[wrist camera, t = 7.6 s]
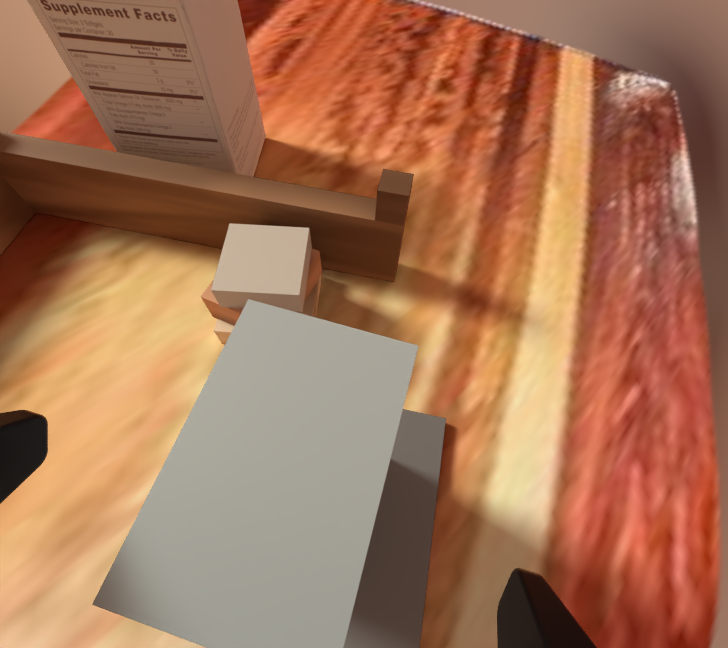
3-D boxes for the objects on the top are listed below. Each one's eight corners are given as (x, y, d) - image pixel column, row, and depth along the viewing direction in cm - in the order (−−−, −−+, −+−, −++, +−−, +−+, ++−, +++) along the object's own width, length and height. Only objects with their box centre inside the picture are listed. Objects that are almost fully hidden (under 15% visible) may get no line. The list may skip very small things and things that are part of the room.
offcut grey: (302, 311, 20) (299, 294, 18) (220, 307, 20) (211, 290, 18) (311, 247, 22) (309, 227, 20) (237, 243, 22) (229, 223, 20)
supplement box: (173, 128, 31) (77, -102, 20) (268, 137, 31) (224, -90, 20) (138, 197, 28) (-2, -37, 17) (246, 207, 27) (177, -21, 16)
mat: (414, 665, 16) (417, 669, 16) (177, 603, 17) (171, 605, 16) (443, 421, 21) (445, 418, 20) (257, 381, 21) (255, 377, 21)
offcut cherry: (278, 344, 21) (271, 326, 19) (213, 316, 22) (200, 296, 20) (322, 273, 23) (319, 251, 21) (261, 250, 24) (254, 226, 22)
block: (342, 598, 17) (331, 694, 6) (251, 567, 17) (92, 604, 6) (380, 453, 19) (418, 345, 9) (301, 429, 20) (248, 299, 9)
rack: (329, 582, 17) (319, 603, 11) (-195, 451, 19) (-454, 407, 13) (398, 263, 26) (413, 174, 19) (28, 192, 27) (-64, 90, 21)
